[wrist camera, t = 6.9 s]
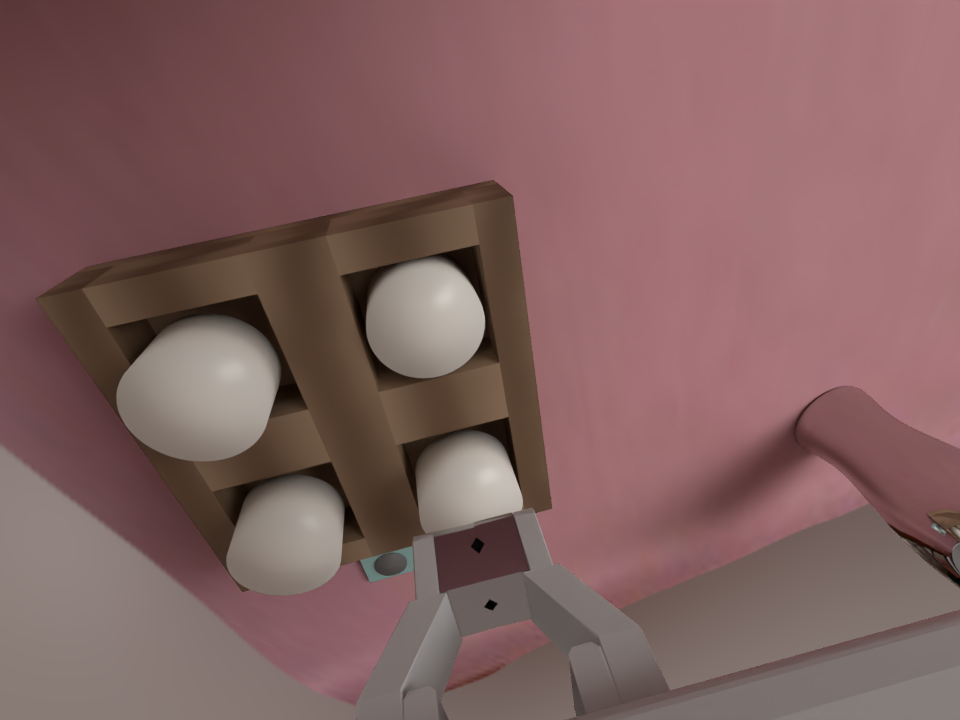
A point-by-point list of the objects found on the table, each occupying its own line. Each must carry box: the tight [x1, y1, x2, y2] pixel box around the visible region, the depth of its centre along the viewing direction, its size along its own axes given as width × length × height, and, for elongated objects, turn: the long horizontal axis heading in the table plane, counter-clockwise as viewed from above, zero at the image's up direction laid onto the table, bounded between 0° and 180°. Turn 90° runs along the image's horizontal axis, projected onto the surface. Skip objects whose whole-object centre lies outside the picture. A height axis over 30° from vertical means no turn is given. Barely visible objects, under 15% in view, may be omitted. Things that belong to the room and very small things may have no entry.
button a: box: [366, 253, 485, 378], centre depth 24 cm, size 6×6×3 cm
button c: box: [415, 430, 523, 534], centre depth 27 cm, size 6×6×3 cm
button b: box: [116, 313, 282, 461], centre depth 21 cm, size 6×6×3 cm
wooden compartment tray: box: [36, 180, 552, 592], centre depth 27 cm, size 20×20×4 cm
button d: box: [226, 475, 345, 596], centre depth 27 cm, size 6×6×3 cm
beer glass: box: [795, 386, 960, 589], centre depth 32 cm, size 7×7×15 cm
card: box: [360, 546, 414, 583], centre depth 36 cm, size 8×6×1 cm
